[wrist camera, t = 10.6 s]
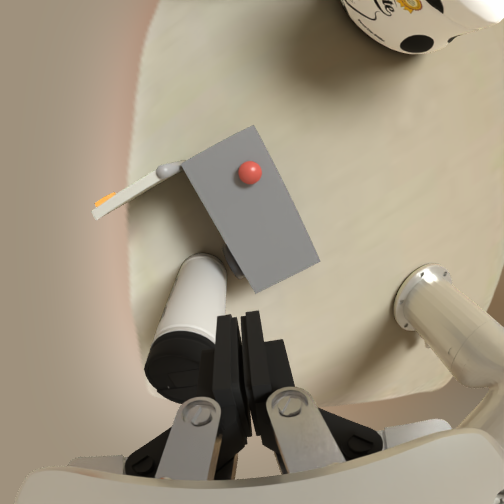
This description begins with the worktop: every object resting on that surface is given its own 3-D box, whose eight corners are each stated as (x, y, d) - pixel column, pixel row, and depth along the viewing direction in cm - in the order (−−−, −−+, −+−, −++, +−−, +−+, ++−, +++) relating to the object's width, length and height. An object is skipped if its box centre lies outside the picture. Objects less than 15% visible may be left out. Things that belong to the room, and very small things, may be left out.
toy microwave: (306, 242, 37) (322, 264, 30) (244, 273, 38) (246, 301, 31) (249, 129, 31) (254, 123, 24) (182, 165, 32) (168, 170, 25)
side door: (131, 200, 33) (96, 221, 23) (126, 189, 32) (88, 207, 23) (190, 167, 32) (171, 174, 22) (184, 155, 32) (163, 158, 22)
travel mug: (235, 287, 38) (239, 404, 20) (190, 300, 39) (164, 415, 20) (220, 245, 36) (209, 349, 17) (173, 260, 36) (125, 365, 18)
